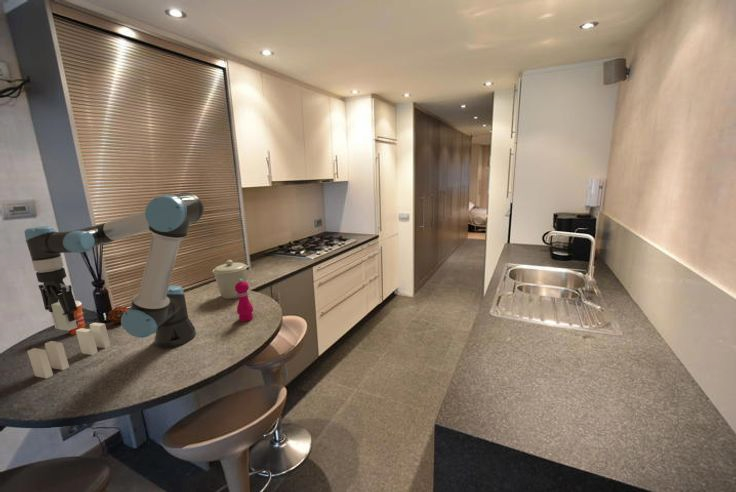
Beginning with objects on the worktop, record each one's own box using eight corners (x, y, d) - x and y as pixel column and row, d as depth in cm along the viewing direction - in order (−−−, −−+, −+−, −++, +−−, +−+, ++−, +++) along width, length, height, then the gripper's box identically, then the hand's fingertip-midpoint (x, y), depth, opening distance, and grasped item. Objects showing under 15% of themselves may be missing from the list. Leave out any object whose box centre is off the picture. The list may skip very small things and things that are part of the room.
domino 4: (98, 352, 129) (92, 329, 127) (92, 355, 127) (86, 332, 125) (87, 350, 131) (81, 327, 129) (81, 353, 129) (75, 330, 127)
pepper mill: (234, 320, 152) (228, 280, 147) (245, 314, 158) (240, 275, 154) (246, 322, 149) (241, 282, 145) (257, 316, 156) (252, 277, 151)
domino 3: (69, 366, 120) (62, 342, 118) (63, 370, 118) (55, 345, 116) (58, 364, 122) (51, 340, 120) (51, 367, 120) (44, 343, 118)
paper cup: (75, 336, 143) (67, 307, 140) (61, 335, 145) (53, 306, 142) (93, 328, 151) (85, 300, 147) (80, 327, 152) (72, 299, 149)
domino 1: (53, 374, 115) (46, 349, 113) (46, 378, 113) (38, 353, 111) (42, 372, 117) (34, 347, 115) (35, 376, 115) (27, 351, 113)
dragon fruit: (127, 328, 153) (114, 326, 159) (139, 312, 158) (127, 311, 164) (110, 319, 147) (98, 318, 153) (124, 303, 152) (111, 302, 158)
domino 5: (110, 345, 134) (105, 323, 132) (105, 348, 132) (99, 326, 130) (100, 344, 136) (94, 322, 133) (95, 346, 134) (89, 324, 131)
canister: (243, 301, 175) (238, 264, 170) (210, 302, 175) (204, 265, 170) (255, 289, 192) (251, 255, 187) (225, 290, 193) (220, 256, 188)
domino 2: (75, 327, 122) (68, 303, 119) (69, 330, 120) (62, 305, 117) (64, 326, 123) (57, 302, 121) (58, 329, 121) (50, 304, 119)
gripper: (80, 267, 117) (95, 325, 122) (44, 265, 122) (60, 321, 128) (55, 274, 110) (72, 335, 115) (19, 271, 115) (37, 330, 121)
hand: (66, 327), depth 121 cm, fingers closed on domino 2, 6 cm apart
